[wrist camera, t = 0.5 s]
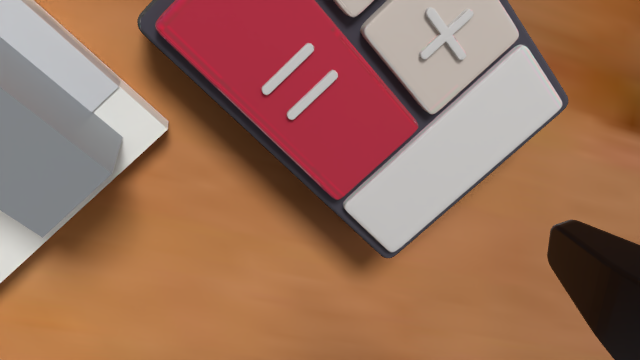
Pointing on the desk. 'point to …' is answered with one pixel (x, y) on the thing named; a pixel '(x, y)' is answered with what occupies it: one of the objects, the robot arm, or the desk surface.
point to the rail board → (58, 128)
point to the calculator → (369, 95)
